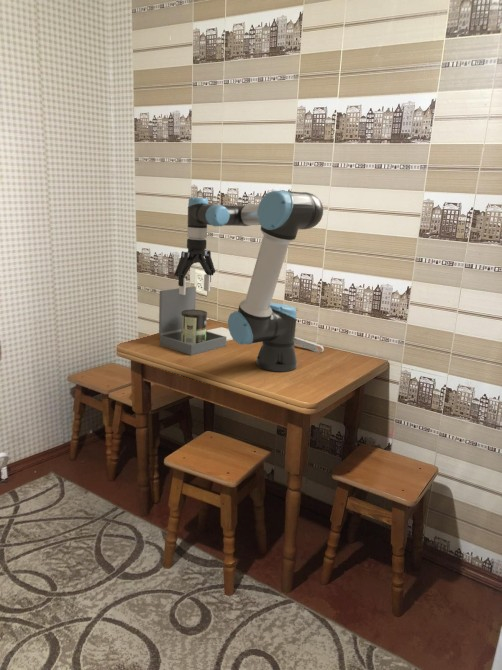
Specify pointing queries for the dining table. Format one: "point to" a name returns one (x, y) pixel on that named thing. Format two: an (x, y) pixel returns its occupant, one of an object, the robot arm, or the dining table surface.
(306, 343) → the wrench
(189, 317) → the coffee can
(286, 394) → the dining table surface
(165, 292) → the case
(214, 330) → the mat
